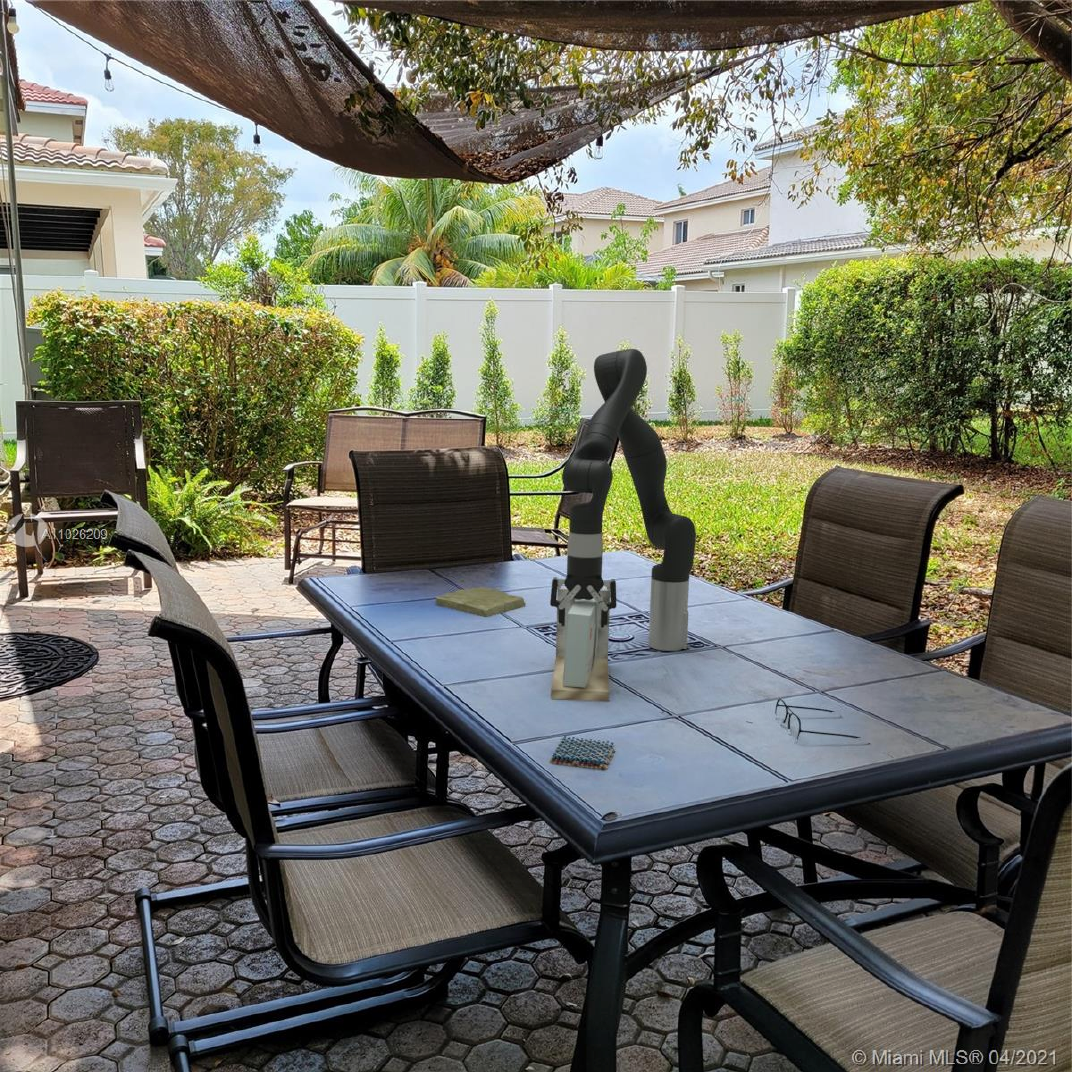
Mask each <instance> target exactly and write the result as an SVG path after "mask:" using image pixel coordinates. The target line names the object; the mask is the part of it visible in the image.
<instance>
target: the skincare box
mask: <svg viewBox="0 0 1072 1072" xmlns="http://www.w3.org/2000/svg"><path fill="white" fill-rule="evenodd" d="M599 611H600V605H599V604H598V603H597V602H596V600H595V599H594V598H593V599H591V600H586V599H581V600H575V602H574V603H573V605H572V607H571V609H570V610H569V612H568V616H567V630H566V646H565V661H564V673H563V686H571V687H582V688H585V687H586V685H587V682H588V679H589V677H590V674H591V672H592V669H593V667H594V664H595V661H596V653H597V639H598V625H599Z"/></svg>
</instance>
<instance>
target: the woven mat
mask: <svg viewBox="0 0 1072 1072" xmlns="http://www.w3.org/2000/svg"><path fill="white" fill-rule="evenodd" d="M615 747H616V744H614V742H610V741H609V740H606V742H605V741H601V739H598V740H595V739H594V740H592V738H589V740H588V739H586V738H585V739H584V738H583V737H581V738H575V736H572V738H571V737H567V735H563V737H562V738H559V742H557V747H555V749H554V752H553V753H552V754H551V757H552V758H550V759H548V760H549V763H551V764H556V765H558V764H559V765H564V766H565V765H566V766H575V767H581V768H589V769H597V770H607V769H608V766H607V765H609V764H610V763H611V760H613V756H614V753H615V752H616V749H615Z"/></svg>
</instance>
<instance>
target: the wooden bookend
mask: <svg viewBox="0 0 1072 1072" xmlns="http://www.w3.org/2000/svg"><path fill="white" fill-rule="evenodd" d="M567 592H568V589H567V588H566V587H561V588H560V589H557V598H556V600H558V601H561V600H562V599H563V598H564V596H565V595H566V594H567ZM599 593H600V594H601V596H602V597H603V599H604V600H605V602H606V603H608V602H611V595H610V591H608V590H607V588H602V589H601V590H600V591H599ZM575 600H576V599H575V598H574V597H573V598H572V599H571V601H570V602H569V603H568V604H567V605H566V606H565V607H564V608H565V626H561V624H560V623H559V622H558V615H559V610H558V608H557V607H556V632H555V634H556V635H555V638H556V639H555V659H554V667H553V675H552V682H551V693H550V694H551V695H550V699H552V700H572V701H573V700H574V701H594V702H595V701H597V702H599V701H600V702H610V678H609V677H610V675H609V641H610V640H609V638H610V636H609V634H610V613H611V611H610V610H611V609H610V610H609V611H608V621H607V625H604V628H601V609H602V608H601V607H600V611H599V625H598V639H597V653H596V661H595V664H594V667H593V669H592V672H591V674H590V677H589V679H588V682H587V685H586V687H585V688H582V687H571V686H563V673H564V661H565V646H566V630H567V616H568V612H569V610H570V609H571V607H572V605H573V603H574V602H575Z"/></svg>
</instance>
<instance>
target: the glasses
mask: <svg viewBox="0 0 1072 1072" xmlns="http://www.w3.org/2000/svg"><path fill="white" fill-rule="evenodd" d="M780 701H781V702H782V704H779V702H780ZM778 707H785V718H784V720H783V721H782V723H784V724H785V723H787V730H788V729H790V730H791V718H792V715H793V716H795V717H796V719H797V721H798V733H797V735H796V739H797V740H799V736H800V734H801V733H807V734H808V733H809V734H817V735H824V736H827V735H828V736H835V737H837V736H838V737H845V738H853V739H857V738H861V737H860V736H856V735H849V734H841V733H831V732H821V731H813V730H812V731H810V730H803V729H802V722H801V718H800V717H799V716H798V715H797V714H796V713H794V712H793V711H792V710H791V709H790V708H794V709H800V710H801V709H805V710H813V711H822V712H827V713H832V712H835V711H834V710H831V709H824V708H823V709H822V708H815V707H809V706H808V707H806V706H798V705H795V706H794V705H787V703H786V702H785V701H784V700H783V699H781V698H778V700H777V702H776V705H775V712H774V713H775V714H776V715H777V709H778ZM789 711H790V712H789Z"/></svg>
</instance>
